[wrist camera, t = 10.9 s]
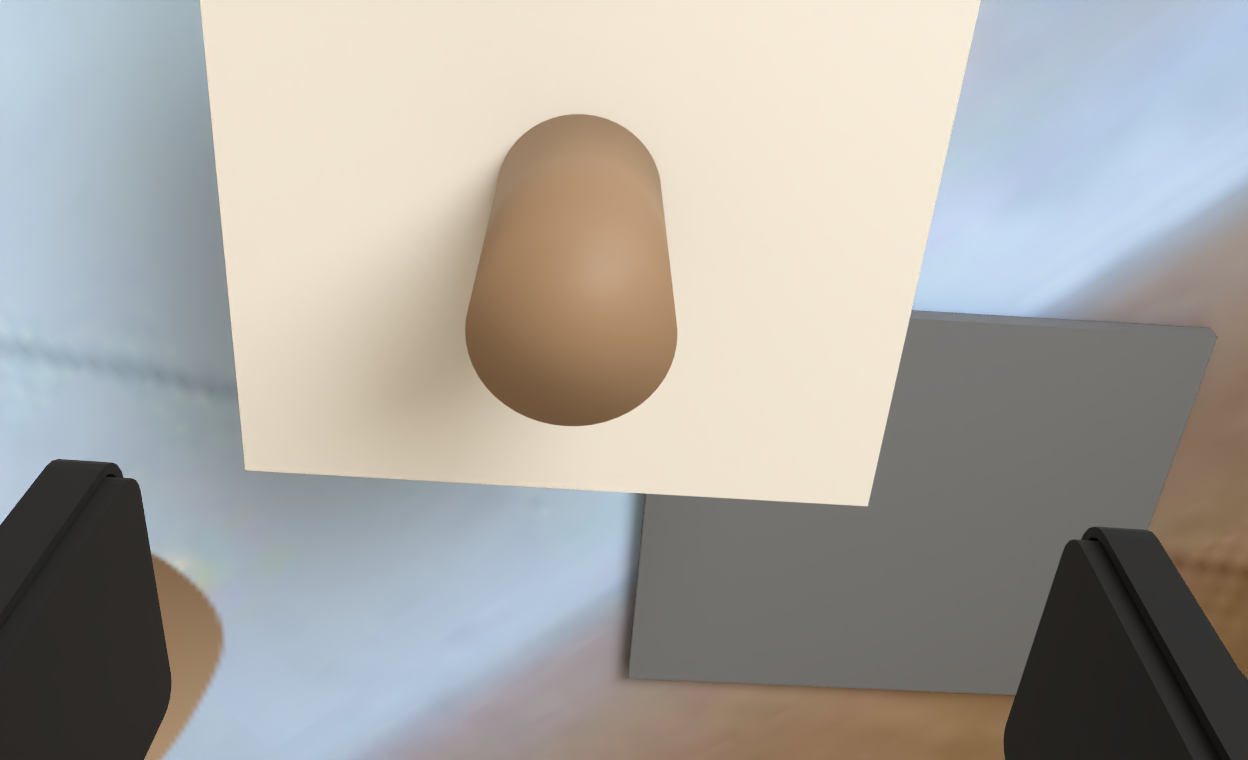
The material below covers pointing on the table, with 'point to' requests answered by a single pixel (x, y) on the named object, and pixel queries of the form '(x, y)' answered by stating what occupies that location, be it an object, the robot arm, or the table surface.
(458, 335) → the lid
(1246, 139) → the table surface
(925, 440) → the mat
